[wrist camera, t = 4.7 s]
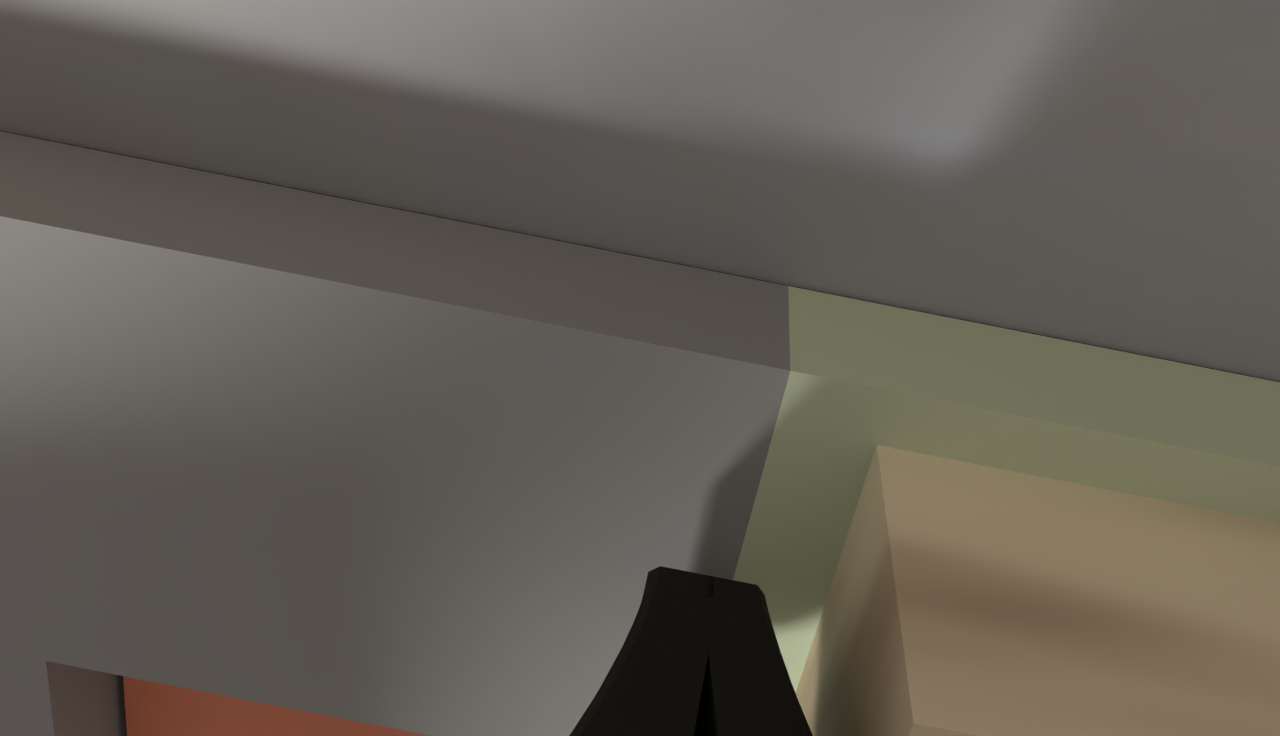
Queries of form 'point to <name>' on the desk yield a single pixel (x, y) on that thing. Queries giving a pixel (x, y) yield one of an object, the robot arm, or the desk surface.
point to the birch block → (1042, 611)
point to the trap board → (465, 451)
